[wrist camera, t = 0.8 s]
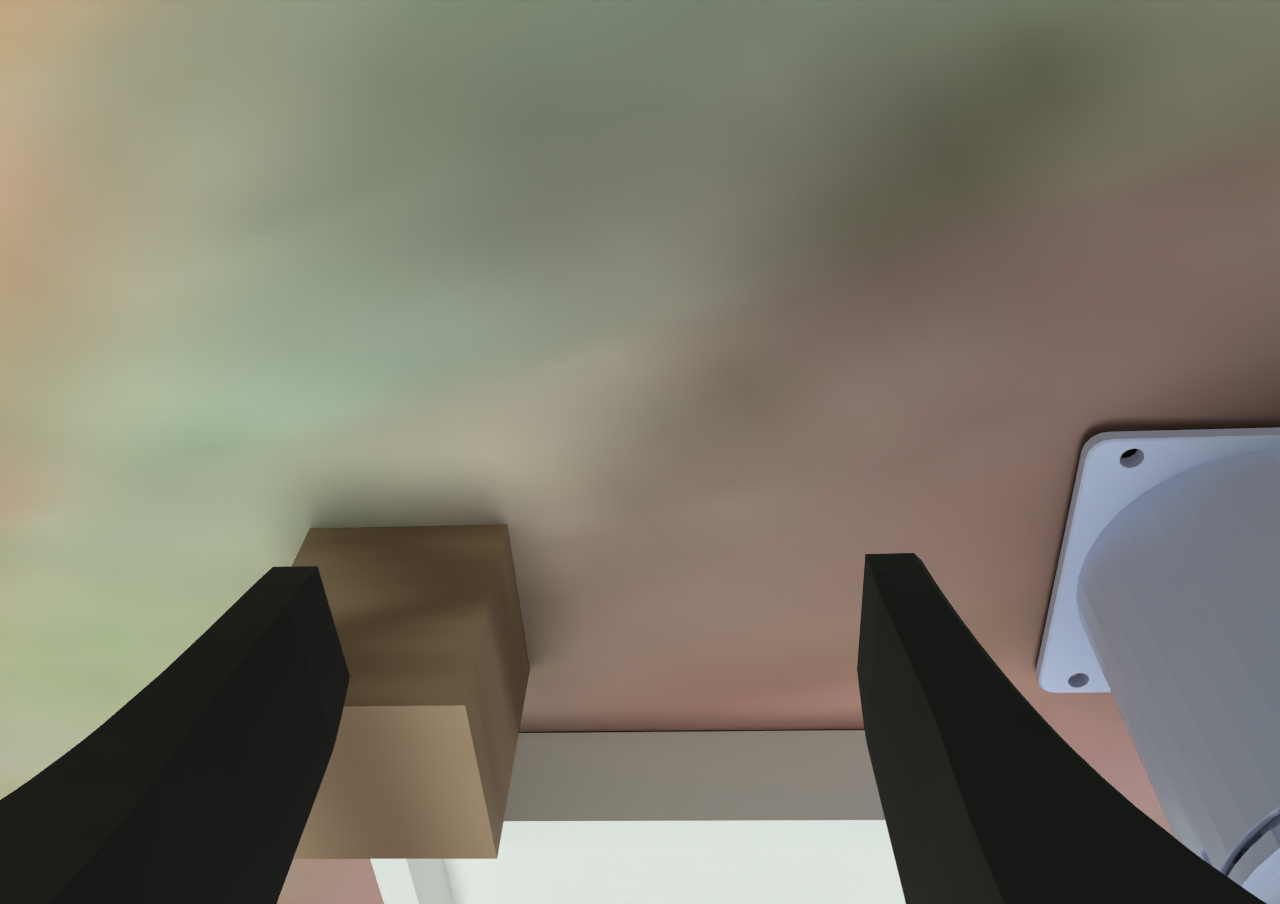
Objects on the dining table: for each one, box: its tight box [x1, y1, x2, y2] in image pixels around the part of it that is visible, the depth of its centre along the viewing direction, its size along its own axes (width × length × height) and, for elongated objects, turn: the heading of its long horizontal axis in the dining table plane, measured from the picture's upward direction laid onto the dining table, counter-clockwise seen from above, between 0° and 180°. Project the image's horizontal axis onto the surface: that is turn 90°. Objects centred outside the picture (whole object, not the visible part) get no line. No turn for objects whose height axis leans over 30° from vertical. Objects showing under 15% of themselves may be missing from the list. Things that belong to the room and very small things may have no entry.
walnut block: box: [292, 525, 530, 859], centre depth 26 cm, size 5×5×6 cm
